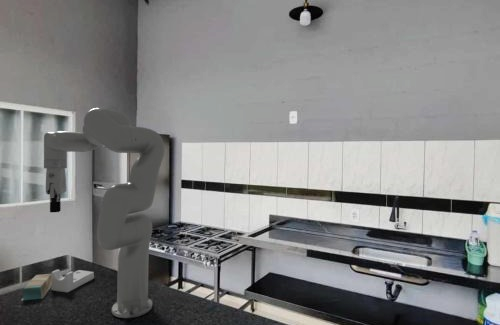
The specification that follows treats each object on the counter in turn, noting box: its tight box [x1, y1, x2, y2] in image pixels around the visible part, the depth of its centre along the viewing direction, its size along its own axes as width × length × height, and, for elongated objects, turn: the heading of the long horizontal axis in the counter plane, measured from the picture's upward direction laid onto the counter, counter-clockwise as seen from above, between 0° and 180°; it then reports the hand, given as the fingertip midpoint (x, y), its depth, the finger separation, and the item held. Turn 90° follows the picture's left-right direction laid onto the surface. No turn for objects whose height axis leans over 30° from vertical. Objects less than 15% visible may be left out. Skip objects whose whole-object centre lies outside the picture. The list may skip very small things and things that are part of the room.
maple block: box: [22, 273, 51, 301], centre depth 109 cm, size 4×5×12 cm
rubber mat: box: [20, 285, 51, 301], centre depth 113 cm, size 19×6×1 cm, turn 18°
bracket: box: [50, 269, 95, 293], centre depth 117 cm, size 13×7×8 cm, turn 167°
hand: (55, 211), depth 117 cm, fingers closed
